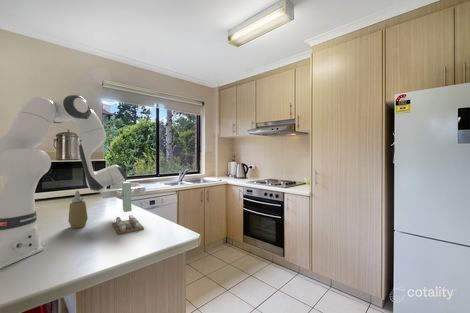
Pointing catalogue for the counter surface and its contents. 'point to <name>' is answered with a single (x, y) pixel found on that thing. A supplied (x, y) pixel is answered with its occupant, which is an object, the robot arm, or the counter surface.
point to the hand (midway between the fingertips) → (127, 193)
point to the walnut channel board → (127, 225)
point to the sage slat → (126, 196)
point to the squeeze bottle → (77, 212)
